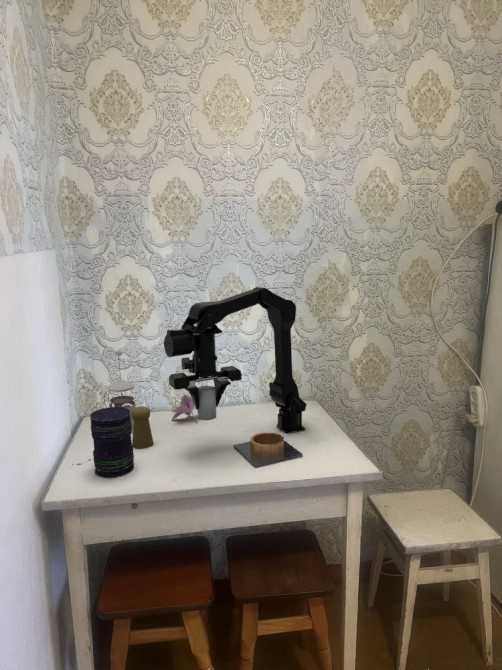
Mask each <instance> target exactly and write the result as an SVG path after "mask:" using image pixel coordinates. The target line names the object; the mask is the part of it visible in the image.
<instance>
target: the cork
mask: <svg viewBox="0 0 502 670" xmlns="http://www.w3.org/2000/svg"><path fill="white" fill-rule="evenodd" d="M131 416H132V418H133V420H134V424H133V433H132V438H131V443H132V446H133V449H137V450H145V449H148V448H152V447H153V445H154V444H155V443H154V439H153V433H152V428H151V424H150V416H151V411H150V409H149V407H148V406H143V405H142V406H137V407H136V408H134V409H133V410H132V413H131Z"/></svg>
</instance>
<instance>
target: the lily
mask: <svg viewBox="0 0 502 670" xmlns="http://www.w3.org/2000/svg"><path fill="white" fill-rule="evenodd" d="M179 404H180V406H178V407H176V408H174V409H173V410H172V411H171V413H174V414H173V416H172V418H171V421H174V420H175V419H177V418H178V417H179V416H180V415H183V414H184V415H186V416H188V417H190V416H191V414H192V416H193V420H194V421H195V424H198V421H197V419H196V417H195V415H194V413H193V411H194V408H195V405H194V402H193V400H192V397H191V395H188V394H183V395H182V397H181V399H180V403H179Z"/></svg>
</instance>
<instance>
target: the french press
mask: <svg viewBox="0 0 502 670" xmlns="http://www.w3.org/2000/svg"><path fill="white" fill-rule="evenodd" d="M114 354H115V356H118V358H117V359H120V355H122V351H121V349H118V350H117V349H116V350H115V353H114ZM120 364H121V363H120V361H118V368H119V369H118V370H119V373H121V365H120ZM135 386H136V385H135V384H134V383H133V382H131V381H127V380H122V378H121V374H119V380H118V381H114V382H112V383H111V384H109V385H108V386H107V387H106V389H107V390H106V392H104V395H103V403H104V406H105V408H109V407H123V408H127V409H129V410H130V417H131V424H132V425H131V428H132V433H131V435H133V424H134V420H133V418H132V416H131V413H132V410H133V409H134V408H136V401H134V399H135V397H133V396H132V395H123V392H127V391H131V390H133V389H134V388H135ZM117 392H120V395H119V396H118V395H117V396H114V397H111V398H110V395H114V393H117ZM106 395H107V401H108V403H109V405H108V407H107V405H106V399H105V398H106ZM126 404H127V405H126ZM129 404H130V405H129ZM113 405H114V406H113Z"/></svg>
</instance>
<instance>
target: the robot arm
mask: <svg viewBox="0 0 502 670" xmlns="http://www.w3.org/2000/svg"><path fill="white" fill-rule="evenodd" d="M256 305H260V307H261V308H262V309H264V310H266V312H267V318H268V321H269V323H270V325H271V327H272V329H273V340H274V341H273V342H274V359H275V360H274V361H275V362H274V364H275V378H274V380H273V382H269V383H268V387H269V393H268V394H269V395H268V396H270V397H271V400H272V401H273V402H274V405H275V407H276V408H277V407H278V408H279V409H278V413H277V424H276V427H277V428H278V429H279V430H281V431H282V432H284V433H285V434H289V433H293V432H299V431H303V430H305V426H303V412H306V409H307V405H308V404H307V403H306V402H305V401H304V400H303V399H302V398H301V397H300V391H299V389H298V385H297V383H296V381H295V379H294V376H293V361H292V360H293V359H292V358H293V356H292V334H291V333H292V332H291V331H292V327H293V326H294V323H295V322H296V315H297V305H296V303H295V302H293V300H291V299H286V298H284V297H282V296H280V295H277V294H276V293H274V292H272V291H271V290H270V289H268V288H266V287H260V286H256V287H253V288H252V289H249V290H247V291H243V292H241V293H238V294H235V295H232V296H230V297H226V298H224V299H220V300H214V301H204V302H197V303H193V304H191V306H190V309H189V311H188V315H187V317H186V319H185V321H184V322H183V324H182V325H181V326H180V329H167V330H166V335H165V337H164V340H163V348H164V352H165V354H166V356H167V357H168V358H172V357H173V358H174V357H180V356H186V355H190V354H192V359H190V357H189V356H188V357H182V358H181V361H180V362H181V369H182V371H185V370H188V373H191V375H187V374H186V373H185V372H178V373H170V375H169V376H168V385H169V386H170V387H172V389H173V390H177V391H178V390H182V389H184V390H185V391H187V392H188V393H189V396H190V397H191V399H192V400H193V402H194V405H195V406H194V408H195V410H197V411H198V410H199V395H198V387H199V386H196V383H197V382H205V381H211V380H213V383H214V384H213V385H214V387H215V390H216V408H217V407H218V406H219V405H220V401H221V399H222V396H223V395H224V392H225V390H226V389H227V387H228V386H229V385H231V382H236V381H237V382H238V381H241V380H242V376H243V375H242V371H241V370H240V369H239V368H237V367H236V366H234V365H228V366H222V367H221V368H220V370H219V371H218V370H217V361H218V356H217V355H216V336H215V335H219V334H222V333H223V330H222V329H221V328H219V327H218V325H217V324H218V323H220V322H222V321H223V320H224V319H225V318H226V317H227V316H229V315H231V314H234V313H235V314H236V313H237V312H240V311H243V310H245V309H248V308H251V307H253V306H256Z"/></svg>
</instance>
